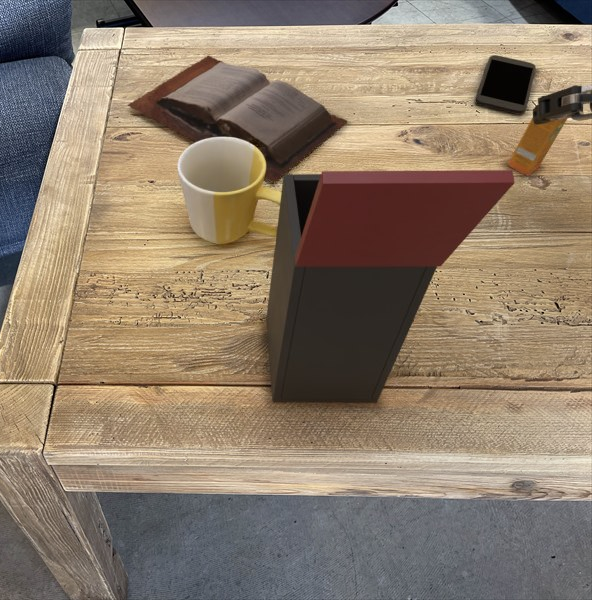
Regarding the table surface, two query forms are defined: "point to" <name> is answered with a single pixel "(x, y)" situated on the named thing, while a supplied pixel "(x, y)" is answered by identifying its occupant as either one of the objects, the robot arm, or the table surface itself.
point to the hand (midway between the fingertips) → (571, 113)
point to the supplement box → (534, 146)
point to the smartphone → (506, 84)
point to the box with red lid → (333, 315)
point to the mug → (224, 188)
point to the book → (241, 111)
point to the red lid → (396, 216)
